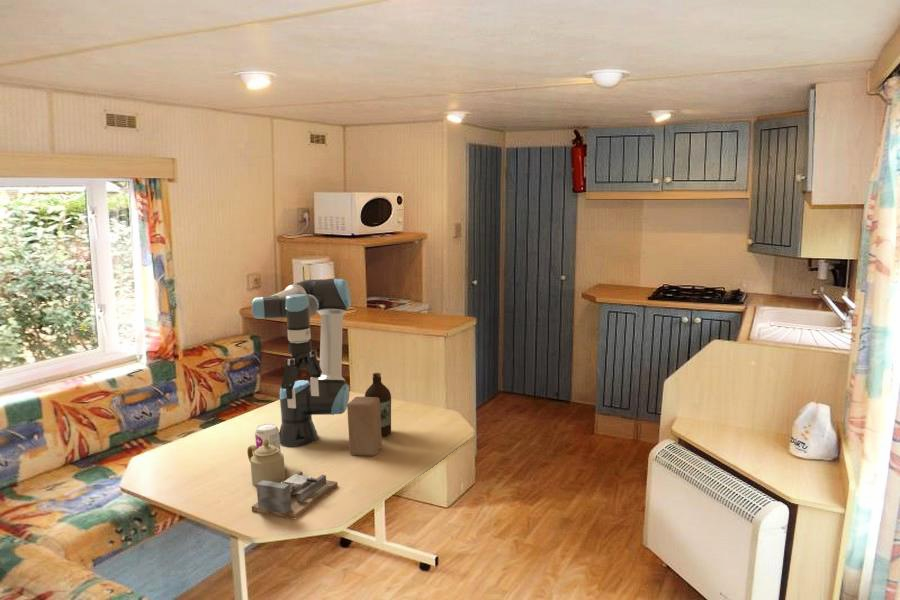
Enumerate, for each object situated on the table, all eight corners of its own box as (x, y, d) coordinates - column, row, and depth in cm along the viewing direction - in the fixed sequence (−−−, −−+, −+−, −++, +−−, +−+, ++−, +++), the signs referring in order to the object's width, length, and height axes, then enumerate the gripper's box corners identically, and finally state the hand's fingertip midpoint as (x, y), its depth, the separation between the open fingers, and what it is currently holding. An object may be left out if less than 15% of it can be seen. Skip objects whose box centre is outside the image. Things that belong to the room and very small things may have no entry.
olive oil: (362, 431, 276) (359, 372, 271) (387, 427, 280) (384, 368, 276) (371, 440, 266) (368, 378, 262) (396, 435, 271) (394, 374, 267)
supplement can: (260, 473, 238) (257, 432, 235) (255, 465, 245) (252, 425, 243) (283, 468, 241) (280, 428, 239) (278, 460, 249) (275, 421, 246)
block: (374, 457, 249) (372, 404, 246) (349, 455, 251) (346, 403, 248) (382, 446, 259) (380, 396, 256) (358, 445, 261) (355, 395, 258)
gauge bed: (250, 511, 209) (248, 482, 208) (297, 479, 232) (295, 453, 230) (294, 519, 203) (292, 490, 202) (337, 486, 226) (335, 459, 224)
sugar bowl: (235, 485, 228) (231, 443, 226) (251, 472, 239) (248, 431, 237) (276, 488, 225) (273, 445, 223) (290, 474, 236) (287, 433, 234)
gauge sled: (274, 500, 213) (273, 486, 212) (295, 485, 223) (294, 472, 222) (303, 505, 209) (302, 490, 208) (322, 490, 219) (321, 476, 218)
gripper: (286, 349, 214) (291, 414, 217) (329, 333, 237) (333, 392, 240) (267, 348, 217) (272, 411, 220) (311, 332, 239) (315, 390, 243)
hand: (303, 401), depth 230 cm, fingers open, 13 cm apart
